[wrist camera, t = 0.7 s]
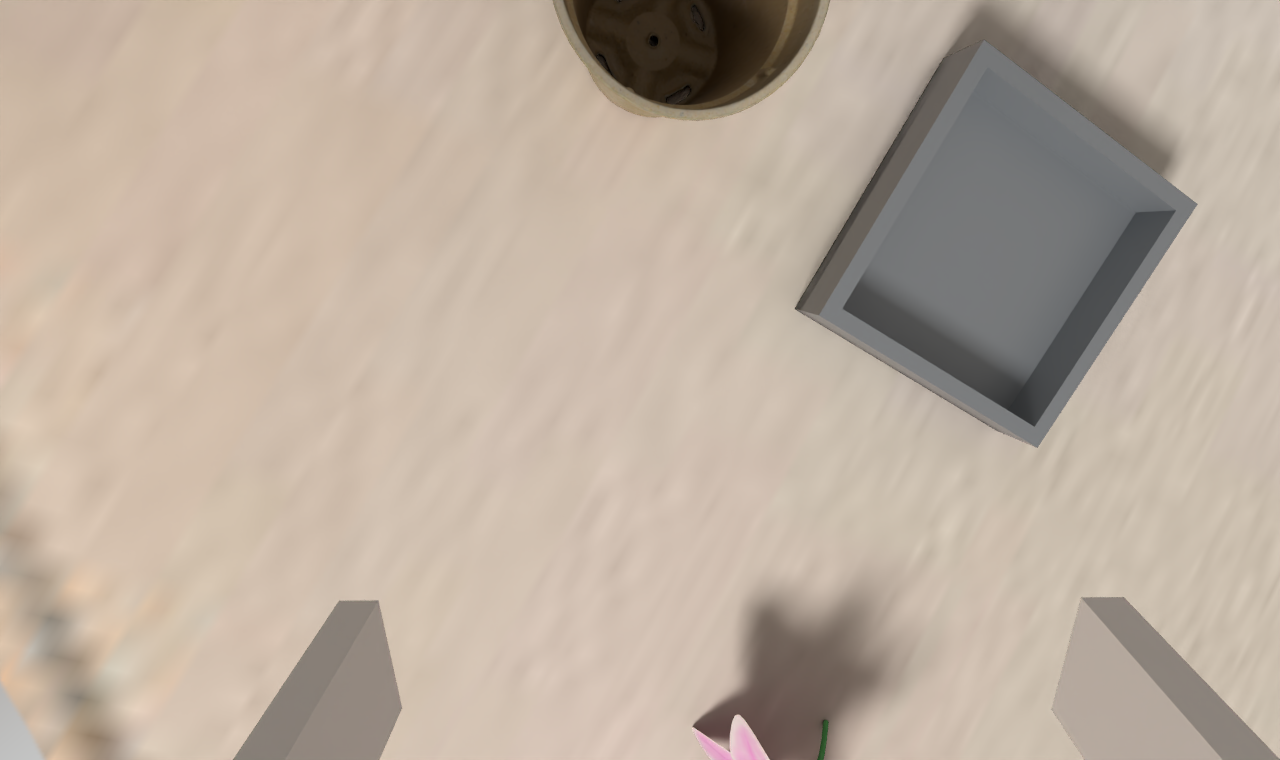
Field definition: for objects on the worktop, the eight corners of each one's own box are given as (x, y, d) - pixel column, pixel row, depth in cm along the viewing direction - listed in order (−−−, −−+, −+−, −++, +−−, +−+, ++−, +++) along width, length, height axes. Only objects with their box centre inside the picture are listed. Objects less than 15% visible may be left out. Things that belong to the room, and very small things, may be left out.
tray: (794, 309, 33) (818, 315, 30) (943, 58, 31) (984, 39, 28) (997, 431, 36) (1037, 447, 33) (1142, 207, 34) (1197, 204, 31)
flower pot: (632, -127, 28) (668, -285, 20) (795, 26, 30) (890, -56, 22) (502, 58, 29) (485, -17, 20) (671, 195, 31) (717, 178, 23)
